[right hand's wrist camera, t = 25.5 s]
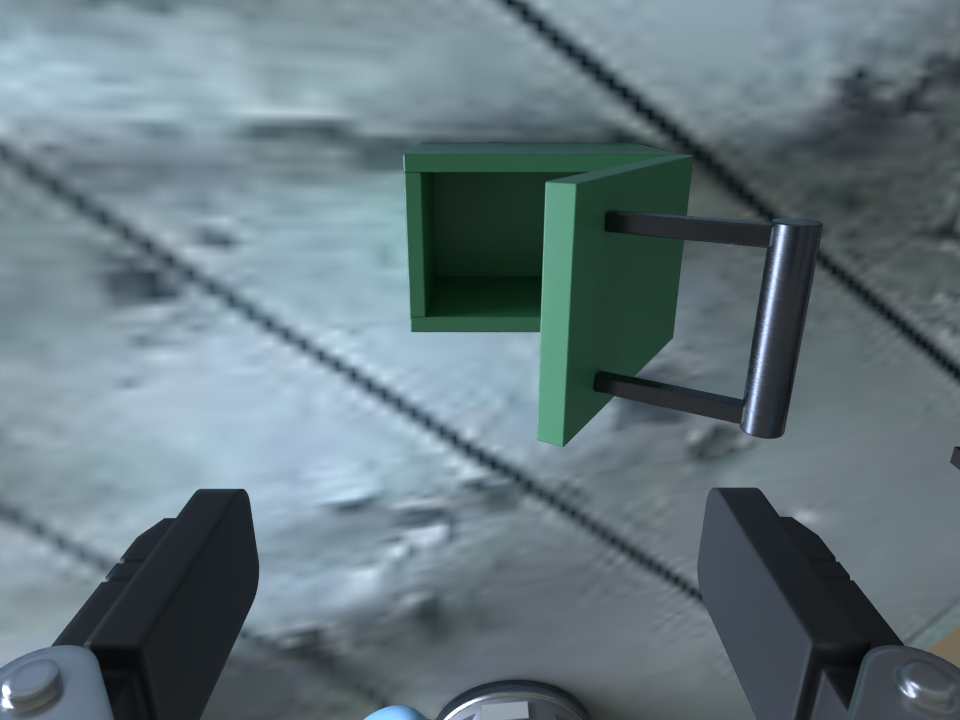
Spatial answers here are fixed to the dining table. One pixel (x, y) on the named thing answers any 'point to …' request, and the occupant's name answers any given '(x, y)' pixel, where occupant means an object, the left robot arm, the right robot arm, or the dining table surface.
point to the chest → (487, 228)
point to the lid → (655, 298)
